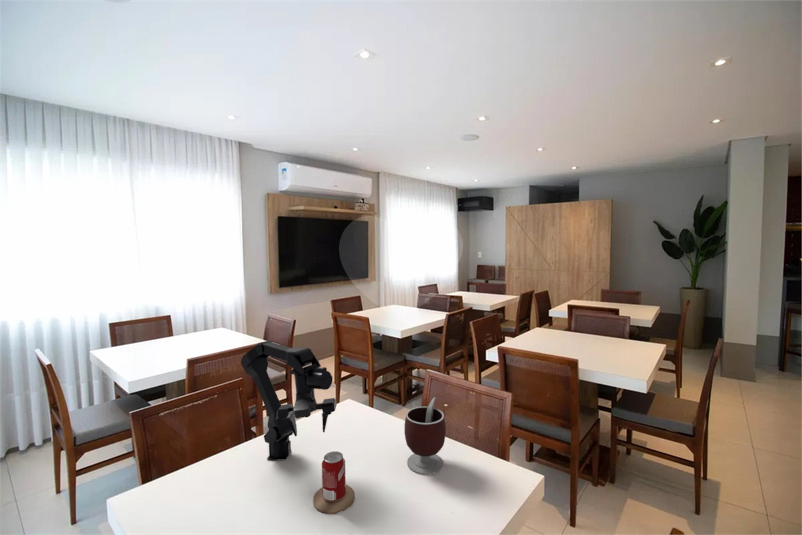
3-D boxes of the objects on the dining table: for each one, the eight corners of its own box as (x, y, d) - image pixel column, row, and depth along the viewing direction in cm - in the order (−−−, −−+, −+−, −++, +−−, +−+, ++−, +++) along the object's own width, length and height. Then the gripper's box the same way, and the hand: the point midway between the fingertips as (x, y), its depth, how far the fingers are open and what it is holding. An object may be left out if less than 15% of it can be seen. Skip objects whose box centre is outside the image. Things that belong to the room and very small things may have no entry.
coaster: (307, 513, 103) (307, 510, 102) (319, 485, 115) (319, 482, 114) (350, 514, 102) (350, 511, 102) (357, 486, 114) (357, 483, 114)
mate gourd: (436, 481, 116) (435, 419, 115) (397, 469, 123) (396, 410, 121) (453, 456, 130) (453, 400, 128) (417, 446, 136) (417, 393, 135)
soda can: (334, 507, 104) (333, 466, 103) (317, 498, 108) (316, 458, 107) (350, 493, 109) (349, 454, 109) (334, 485, 113) (333, 447, 112)
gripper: (268, 399, 114) (274, 449, 114) (329, 391, 115) (335, 441, 115) (278, 388, 125) (284, 433, 125) (334, 380, 126) (339, 426, 126)
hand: (310, 433), depth 122 cm, fingers open, 9 cm apart
